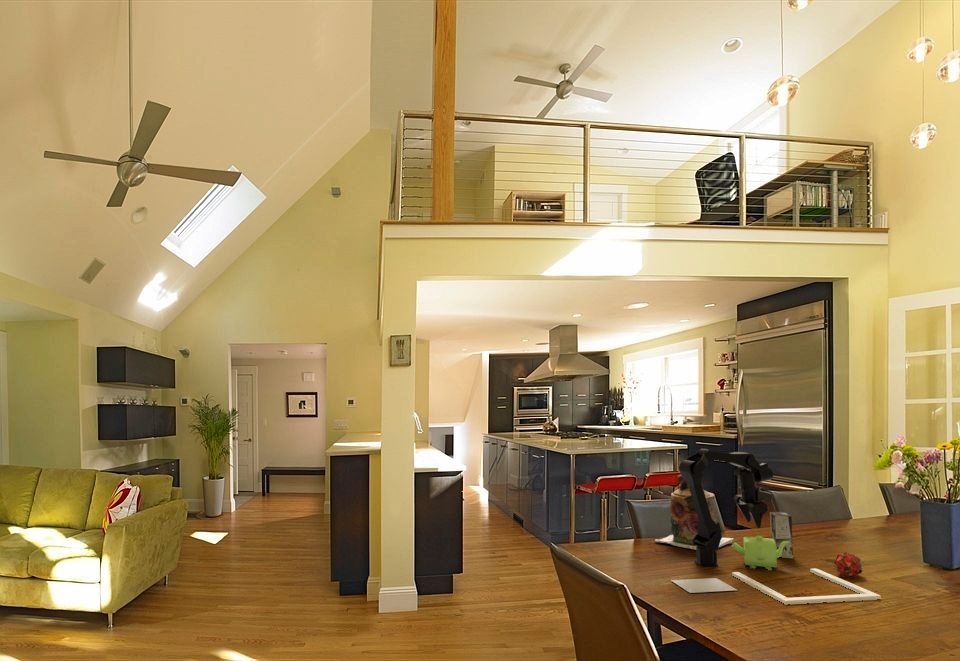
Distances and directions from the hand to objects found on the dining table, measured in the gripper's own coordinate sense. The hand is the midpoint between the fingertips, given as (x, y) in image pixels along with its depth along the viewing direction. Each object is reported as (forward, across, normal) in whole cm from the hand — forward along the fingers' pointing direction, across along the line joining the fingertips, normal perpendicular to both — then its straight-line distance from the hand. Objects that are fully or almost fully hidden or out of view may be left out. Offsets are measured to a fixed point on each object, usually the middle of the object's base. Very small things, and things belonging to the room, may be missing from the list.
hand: (753, 525), depth 258 cm
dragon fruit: (+15, -24, -22) cm, 35 cm away
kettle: (+12, -12, +4) cm, 18 cm away
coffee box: (+15, +5, -12) cm, 20 cm away
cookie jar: (+12, +26, +17) cm, 33 cm away
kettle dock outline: (+11, -36, +1) cm, 38 cm away
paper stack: (+7, -40, +36) cm, 54 cm away
